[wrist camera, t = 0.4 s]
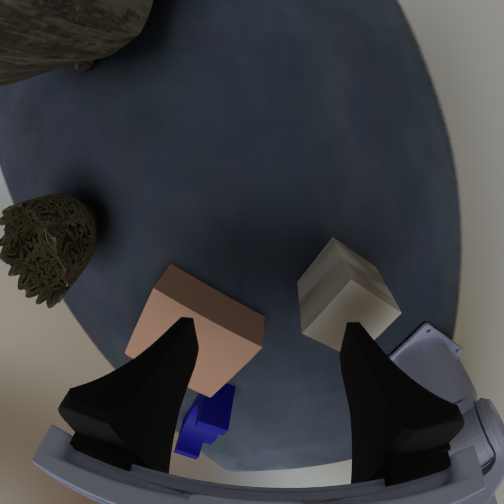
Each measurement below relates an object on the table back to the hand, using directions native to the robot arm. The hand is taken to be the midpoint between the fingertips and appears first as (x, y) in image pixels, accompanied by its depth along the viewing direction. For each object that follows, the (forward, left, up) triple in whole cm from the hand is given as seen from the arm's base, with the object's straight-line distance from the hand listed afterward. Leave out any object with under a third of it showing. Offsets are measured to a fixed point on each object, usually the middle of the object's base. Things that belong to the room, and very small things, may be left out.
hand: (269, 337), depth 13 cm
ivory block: (-5, -1, -9) cm, 10 cm away
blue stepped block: (-5, +22, -9) cm, 24 cm away
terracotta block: (+2, +10, -9) cm, 14 cm away
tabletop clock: (+20, -12, -9) cm, 25 cm away
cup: (+15, +6, -9) cm, 18 cm away
